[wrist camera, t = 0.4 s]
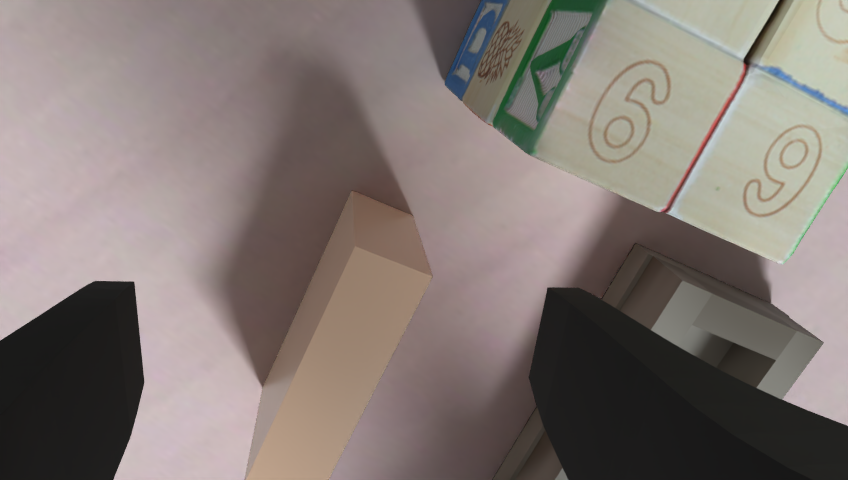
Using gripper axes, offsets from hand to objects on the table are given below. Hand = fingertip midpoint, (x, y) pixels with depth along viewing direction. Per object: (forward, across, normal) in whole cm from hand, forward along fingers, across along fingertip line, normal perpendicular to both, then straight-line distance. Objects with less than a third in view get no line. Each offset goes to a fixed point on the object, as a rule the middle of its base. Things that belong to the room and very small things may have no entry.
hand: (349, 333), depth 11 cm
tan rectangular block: (+10, 0, +5) cm, 11 cm away
